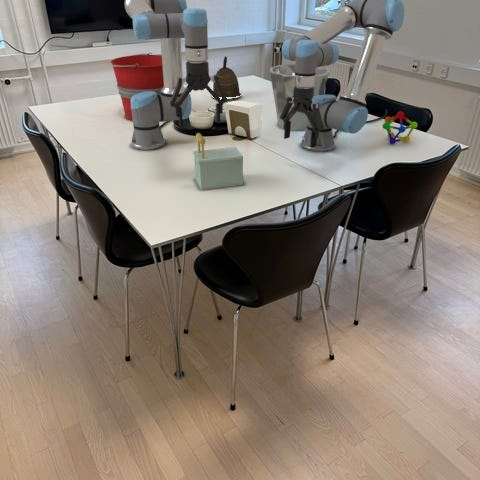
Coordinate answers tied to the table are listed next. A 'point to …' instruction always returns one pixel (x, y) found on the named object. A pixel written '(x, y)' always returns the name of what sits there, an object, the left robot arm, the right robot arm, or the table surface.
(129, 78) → the bucket
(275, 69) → the bucket
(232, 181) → the chest
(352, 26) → the right robot arm
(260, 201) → the table surface
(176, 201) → the table surface
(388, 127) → the educational toy
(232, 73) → the bell
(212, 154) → the lid
